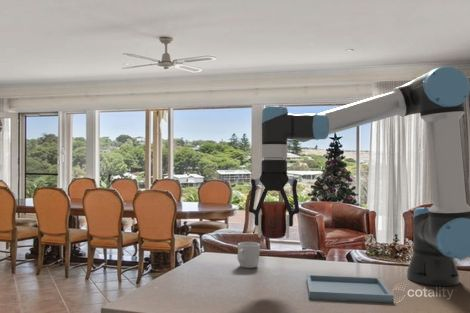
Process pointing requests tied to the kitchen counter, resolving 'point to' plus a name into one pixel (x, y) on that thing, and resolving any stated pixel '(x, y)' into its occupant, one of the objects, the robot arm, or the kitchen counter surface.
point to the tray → (348, 288)
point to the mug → (273, 219)
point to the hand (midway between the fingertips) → (273, 236)
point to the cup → (248, 254)
